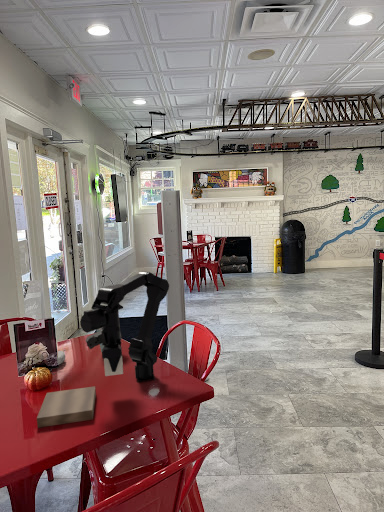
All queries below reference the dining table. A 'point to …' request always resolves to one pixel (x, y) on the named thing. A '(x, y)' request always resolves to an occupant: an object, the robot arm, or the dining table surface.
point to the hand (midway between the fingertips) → (114, 367)
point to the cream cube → (109, 371)
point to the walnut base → (67, 407)
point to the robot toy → (61, 357)
